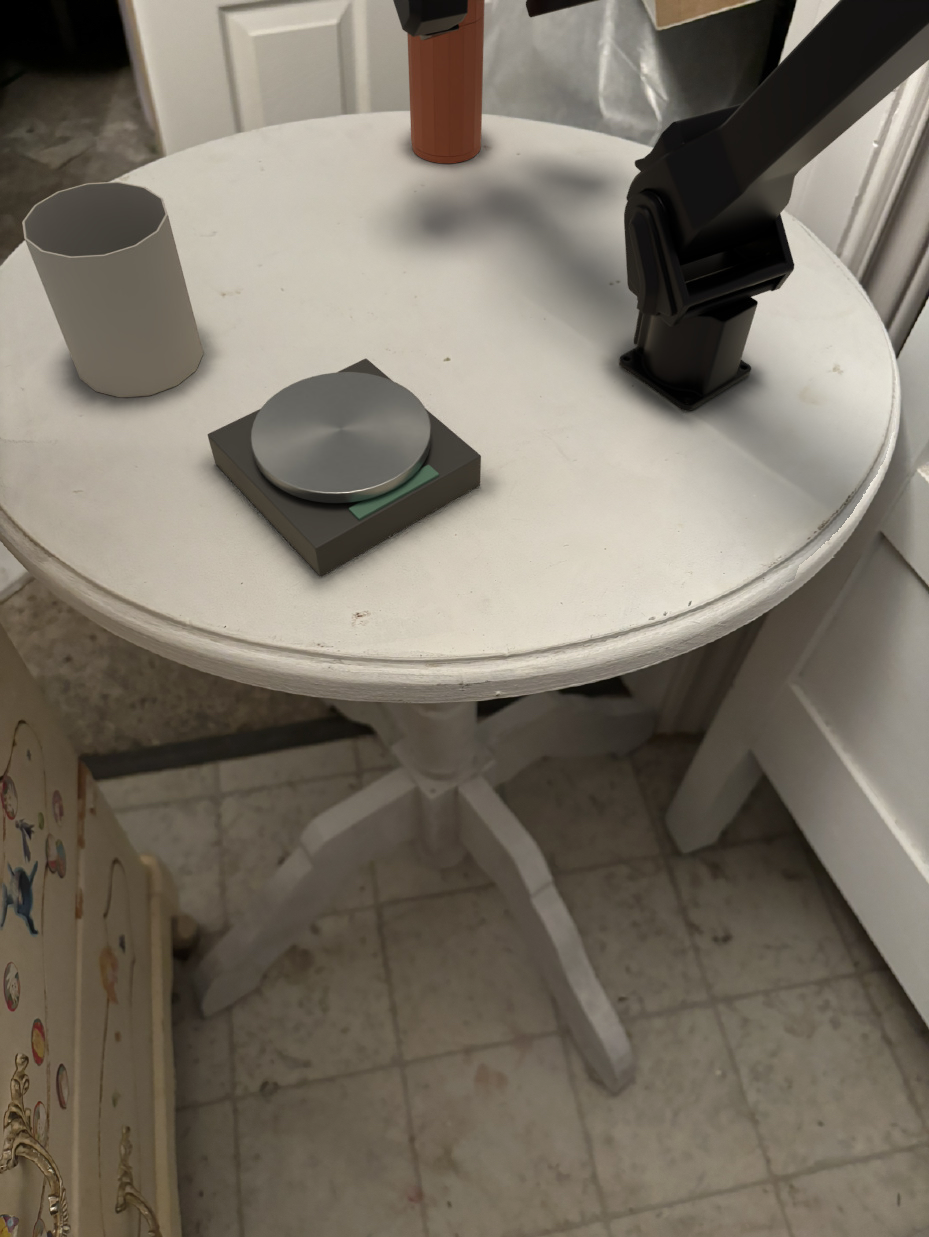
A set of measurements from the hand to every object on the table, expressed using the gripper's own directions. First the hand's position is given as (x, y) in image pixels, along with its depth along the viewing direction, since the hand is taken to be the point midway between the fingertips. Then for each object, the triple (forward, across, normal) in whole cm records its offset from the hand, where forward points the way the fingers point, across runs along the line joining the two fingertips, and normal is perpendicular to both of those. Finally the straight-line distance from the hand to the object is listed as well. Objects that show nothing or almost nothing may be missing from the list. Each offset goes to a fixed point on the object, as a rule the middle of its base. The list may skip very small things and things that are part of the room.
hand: (476, 21), depth 69 cm
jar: (+12, 0, +5) cm, 12 cm away
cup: (0, +32, +16) cm, 36 cm away
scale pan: (-14, +24, +26) cm, 38 cm away
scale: (-12, +24, +28) cm, 39 cm away
